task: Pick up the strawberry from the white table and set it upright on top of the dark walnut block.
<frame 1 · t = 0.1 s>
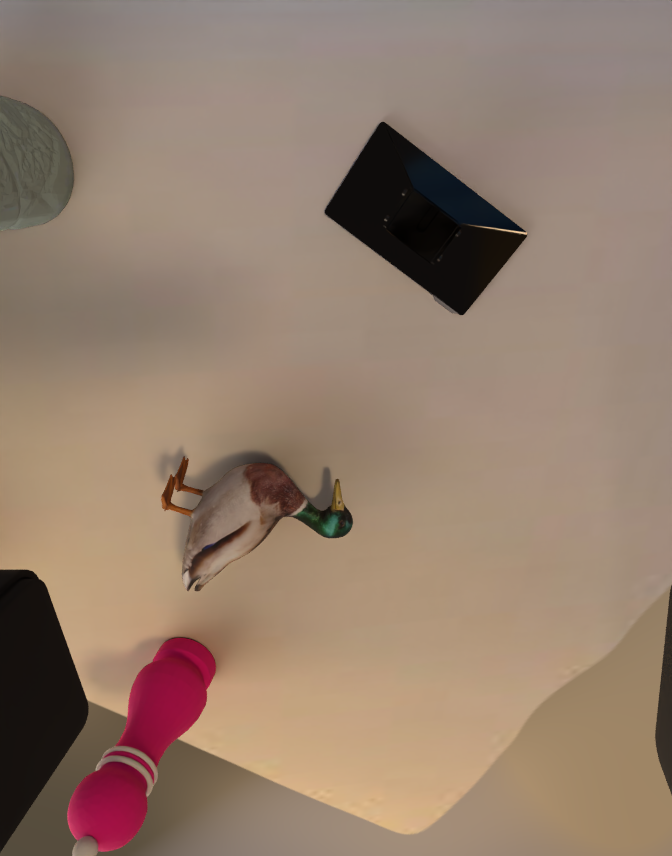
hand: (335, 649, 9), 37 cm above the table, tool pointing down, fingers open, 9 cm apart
build plate: (424, 222, 41), on the table
pepper mill: (188, 659, 61), on the table
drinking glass: (24, 161, 45), on the table
decorative duck model: (263, 511, 53), on the table
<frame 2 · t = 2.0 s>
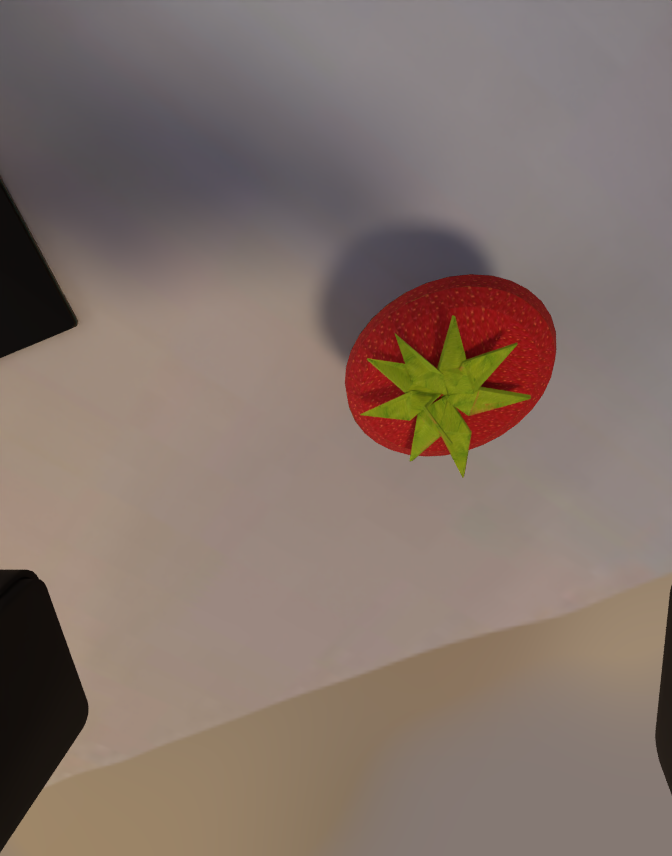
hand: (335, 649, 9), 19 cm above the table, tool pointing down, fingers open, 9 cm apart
strawberry: (445, 329, 26), on the table
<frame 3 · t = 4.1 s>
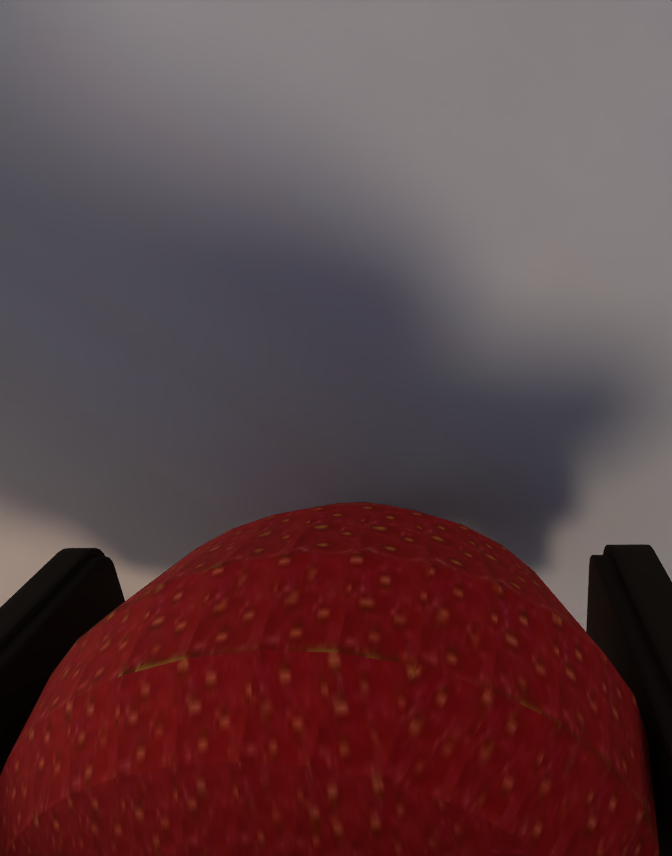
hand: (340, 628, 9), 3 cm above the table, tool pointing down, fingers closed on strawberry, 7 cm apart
strawberry: (364, 527, 12), on the table, touching gripper
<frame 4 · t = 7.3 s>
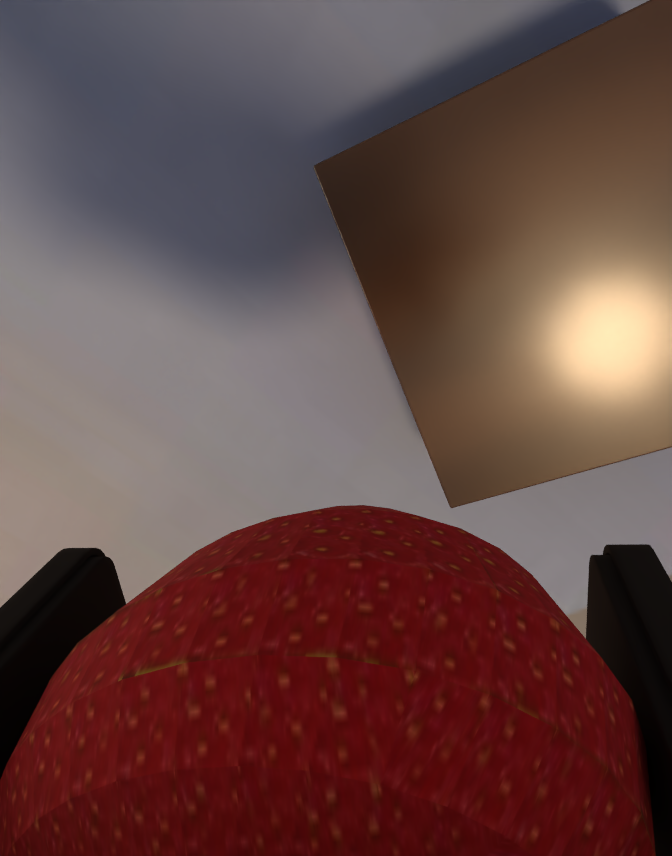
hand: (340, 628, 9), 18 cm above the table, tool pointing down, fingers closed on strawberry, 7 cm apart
strawberry: (363, 529, 12), point 15 cm above the table, touching gripper
walnut block: (528, 272, 23), on the table
when the fingers open (8 cm above the table, at t = 10.7 s): strawberry stays where it is, resting on walnut block.
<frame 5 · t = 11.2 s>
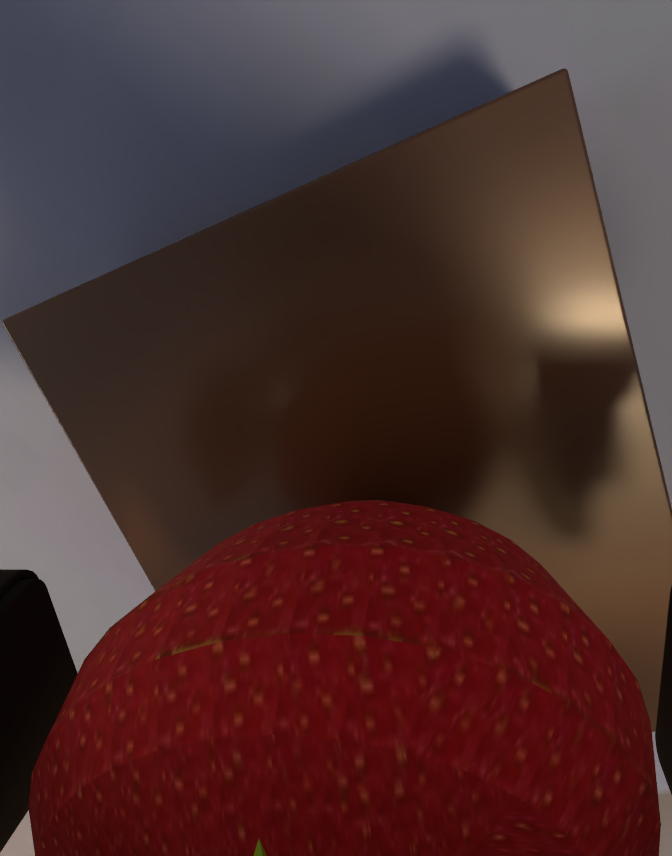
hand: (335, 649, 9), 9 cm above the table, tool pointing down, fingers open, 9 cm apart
strawberry: (374, 525, 12), point 5 cm above the table, touching walnut block
walnut block: (392, 433, 17), on the table, touching strawberry
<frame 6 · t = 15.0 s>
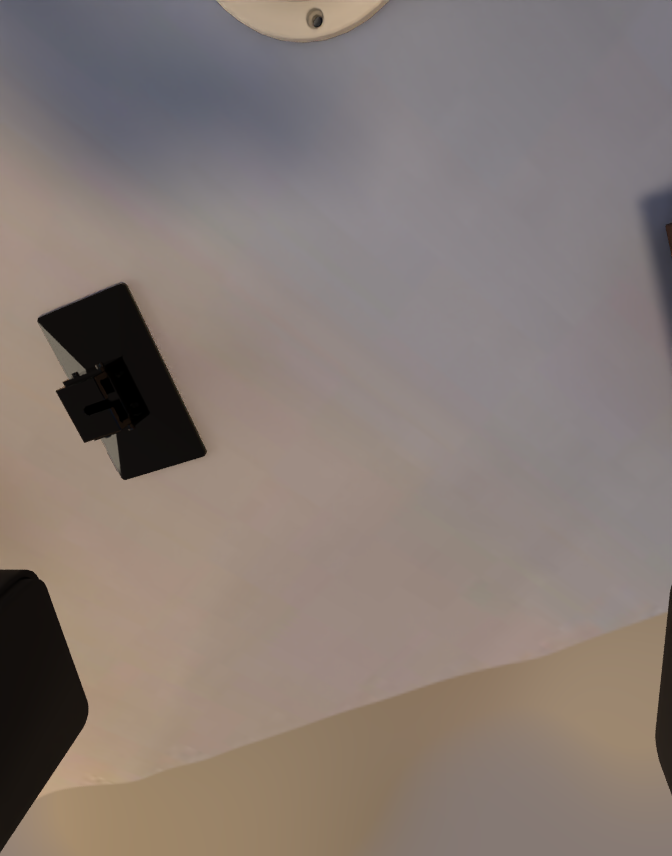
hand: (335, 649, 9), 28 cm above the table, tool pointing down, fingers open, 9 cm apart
build plate: (126, 386, 40), on the table
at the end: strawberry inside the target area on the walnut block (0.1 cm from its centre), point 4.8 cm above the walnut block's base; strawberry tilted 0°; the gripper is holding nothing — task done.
